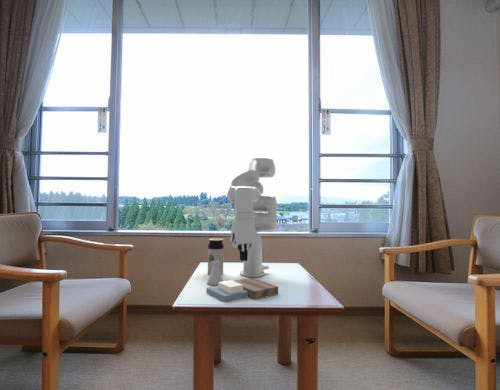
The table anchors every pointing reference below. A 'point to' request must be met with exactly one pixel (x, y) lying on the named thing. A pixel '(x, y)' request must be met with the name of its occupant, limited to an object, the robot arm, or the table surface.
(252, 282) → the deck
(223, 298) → the mat
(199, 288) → the table surface
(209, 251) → the travel mug
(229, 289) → the tile
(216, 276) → the flask
